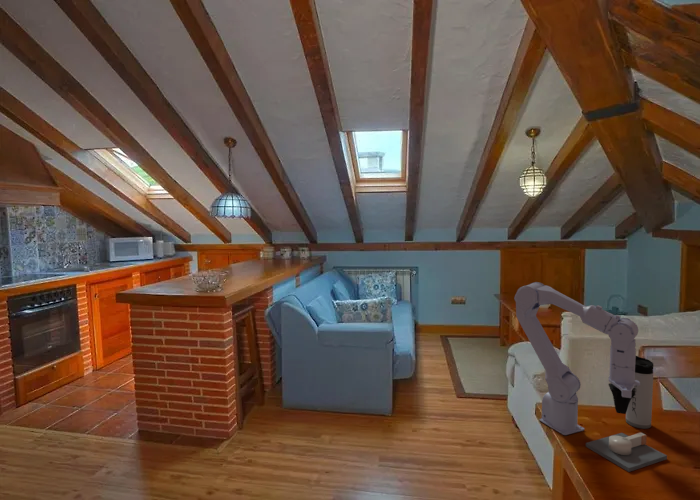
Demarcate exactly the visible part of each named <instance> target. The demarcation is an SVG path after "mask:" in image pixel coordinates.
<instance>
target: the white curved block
mask: <svg viewBox="0 0 700 500" xmlns="http://www.w3.org/2000/svg"><path fill="white" fill-rule="evenodd" d="M609 436H610V437H609V449H610V450H611V451H613V452H615V453H617V454H620V455H630V454H631V448H633V447H636V446H639V445H644V444H645V445H647V436H648V435H647V434H645V433H643V432H641V431H639V432H636V433H635V434H632V435H628V437H625V438H624V437H621V436H612V435H609Z"/></svg>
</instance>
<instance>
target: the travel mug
mask: <svg viewBox="0 0 700 500" xmlns="http://www.w3.org/2000/svg"><path fill="white" fill-rule="evenodd" d="M635 380H637V381H639V382H640V386H637V385H635V386H634V391H635V395H634V396H633V398H632V399H631V401H630V403H629V405H628V409H627V412H626V414H625V422H626V423H627V424H629V426H632V427H634V428H637V429H641V430H642V429H645V430H647V429H650V428H651V427H652V418H653V417H652V416H653V415H652V413H653V412H652V410H653V390H654V388H653V387H654V385H653V384H654V362H653V361H651V360H650V359H647V358H644V357H641V356H640V357H639V355H636V360H635Z"/></svg>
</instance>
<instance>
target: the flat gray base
mask: <svg viewBox="0 0 700 500" xmlns="http://www.w3.org/2000/svg"><path fill="white" fill-rule="evenodd" d="M610 436H621V437H624V438H625V437H628V436H629V435H628V434H626V433H623V432H620V433H616V434H612V435H609V436H606V437H602V438H599V439H596V440H591V441H588V442H585V448H588V449H589V450H591V451H593V452H594V453H596V454H598V455H599V456H601V457H602V458H604V459H606V460H607V461H609V462H611V463H612V464H615V465H616V466H617V467H619V468H621V469H623V470H625V471H626V472H628V473H630V472H633V471H635V470H640V469H642V468H644V467H648V466H650V465H654V464H656V463H660V462H663V461H666V460H668V455H667V454H665V453H663V452H661V451H659V450H657V449H656V448H653V447H652V446H649V445H647V444H644V445H639V446H636V447H633V448H631V454H630V455H620V454H617V453H615V452H613V451H611V450H610V449H609V437H610Z"/></svg>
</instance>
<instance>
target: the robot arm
mask: <svg viewBox="0 0 700 500" xmlns="http://www.w3.org/2000/svg"><path fill="white" fill-rule="evenodd" d="M513 299H514V301H515V315H516V318H517V320H518V322H519V324H520V326H521V328H522V330H523V331H524V333H525V335H526V337H527V338H528V340H529V343H530V344H531V346H532V348H533V350H534V352H535V353H536V356H537V357H538V359H539V361H540V363H541V365H542V366H543V369H544V370H545V375H544V376H545V377H544V378H545V382H546V384H547V392H546V393H545V394H543V397H542V399H541V418H539V421H540V422H541V423H543V424H544V425H546V426H548V427H550V428H551V429H552V430H555V431H556V432H558V433H559V434H561V435H563V436H568V435H571V434H575V433H579V432H583V431H585V427H583V426H581V425H579V424H578V418H579V417H578V413H579V411H578V410H579V408H578V407H579V397H578V395H577V393H578V391H579V390H580V388H581V387H582V386H581V385H582V384H581V380H580V378H578V376H577V375H576V374H574V372H572V371H571V369H570V367H569V366H567V365H566V364H564V362H562V360H561V358H560V356H559V354H558V352H557V351H556V349H555V347H554V345H553V343H552V341H551V340H550V338H549V336H548V335H547V333H546V331H545V329H544V328H543V326H542V323H541V322H540V321H539V318H538V317H537V314H538V311H539V308H540V306H542V305H554V306H556V307H558V308H560V309H563V310H564V311H567V312H570V313H571V314H574V315H577V317H578V316H579V318H580V320H581V321H582V323H583V324H585V325H587V326H588V327H591V328H592V329H595V330H597V331H599V332H601V333H602V334H605V335H608V337H609V338H610V349H609V352H610V353H609V375H608V382H609V383H608V387H609V390H610V391H611V394H612V399H613V403H614V404H613V405H614V408H615V412H616V413H617V414H623V415H626V412H627V409H628V405H629V403H630V401H631V399H632V398H633V396H634V395H635V391H634V386H635V385H637V386H640V382H639V381H637V380H635V360H636V356H637V355H636V354H637V350H636V349H637V348H636V345H637V344H636V339H635V338H636V337H637V336H638V333H639V327H638V325H637V324H636V322H634V321H633V320H631V319H630V318H628V317H621V315H619V314H616V315H615V314H613V313H611V312H610V311H609V312H608V311H606V310H605V309H603V306H601V305H599V304H598V305H594V304H591V305H584V304H582V303H580V302H579V301H577V300H575V299H573V298H571V297H569V296H567V295H565V294H563V293H561V292H560V291H558V290H556V289H555V288H553V287H551V286H550V285H545V284H544V283H542V282H538V281H535V282H531V283H529V284H527V285H523V286H520V287H519V288H518V289H517V290H516V293H515V295H514V298H513Z"/></svg>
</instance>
